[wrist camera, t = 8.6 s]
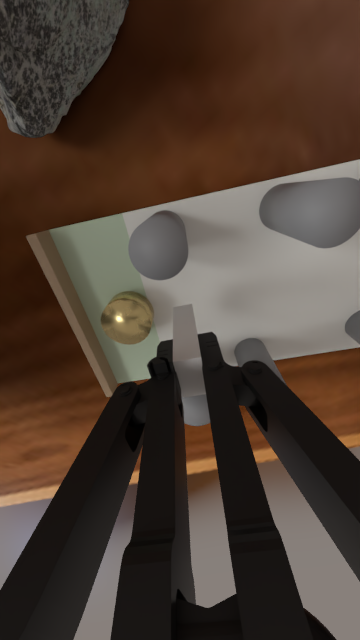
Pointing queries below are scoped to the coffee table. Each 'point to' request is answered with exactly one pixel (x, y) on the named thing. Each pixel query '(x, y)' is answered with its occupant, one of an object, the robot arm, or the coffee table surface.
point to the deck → (219, 273)
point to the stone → (51, 56)
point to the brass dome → (128, 318)
